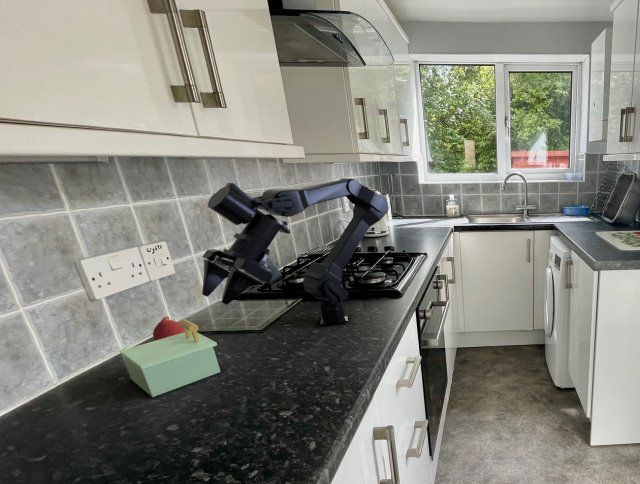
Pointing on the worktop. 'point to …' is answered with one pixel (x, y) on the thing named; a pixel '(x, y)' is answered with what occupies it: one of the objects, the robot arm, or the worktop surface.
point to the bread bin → (174, 372)
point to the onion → (167, 329)
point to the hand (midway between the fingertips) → (214, 299)
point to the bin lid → (169, 347)
